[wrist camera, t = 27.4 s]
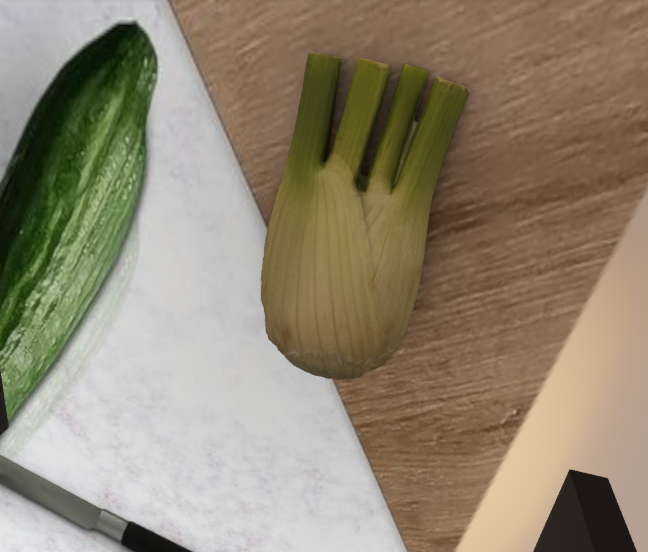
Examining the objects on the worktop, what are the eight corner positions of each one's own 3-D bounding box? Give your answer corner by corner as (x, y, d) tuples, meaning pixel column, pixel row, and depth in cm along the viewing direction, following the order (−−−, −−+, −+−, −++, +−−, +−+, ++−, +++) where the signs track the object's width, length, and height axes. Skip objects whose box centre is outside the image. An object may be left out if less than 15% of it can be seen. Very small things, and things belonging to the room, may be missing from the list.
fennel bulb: (229, 342, 22) (294, 33, 19) (304, 325, 26) (368, 67, 23) (341, 409, 19) (441, 52, 16) (406, 378, 23) (497, 87, 20)
